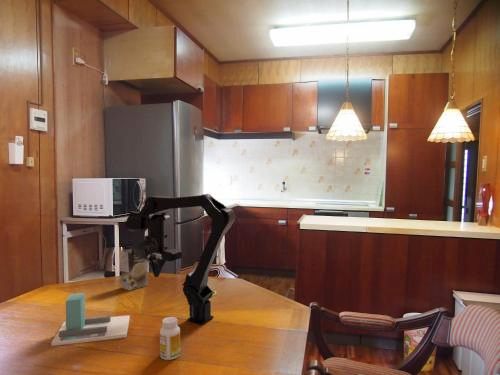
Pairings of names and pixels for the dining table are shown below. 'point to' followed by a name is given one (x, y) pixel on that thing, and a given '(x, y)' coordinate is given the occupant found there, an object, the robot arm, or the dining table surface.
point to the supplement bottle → (169, 339)
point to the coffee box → (133, 271)
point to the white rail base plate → (94, 330)
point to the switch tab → (75, 311)
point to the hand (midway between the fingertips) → (156, 276)
